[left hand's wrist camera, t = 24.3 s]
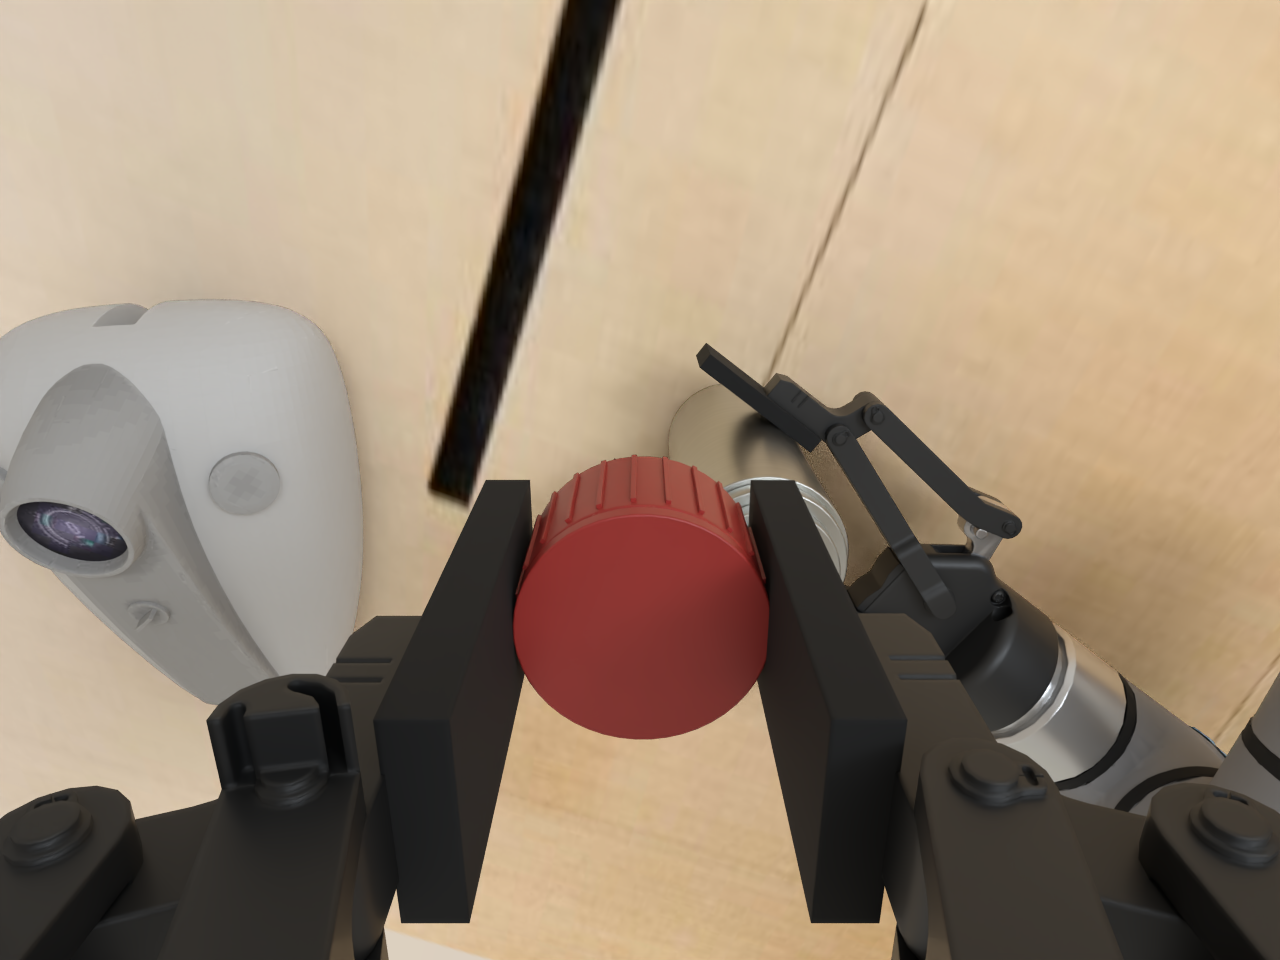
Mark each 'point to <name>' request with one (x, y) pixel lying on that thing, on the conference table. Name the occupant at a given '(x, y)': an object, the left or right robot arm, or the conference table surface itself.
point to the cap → (642, 600)
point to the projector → (188, 482)
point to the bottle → (751, 458)
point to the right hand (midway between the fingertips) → (655, 416)
